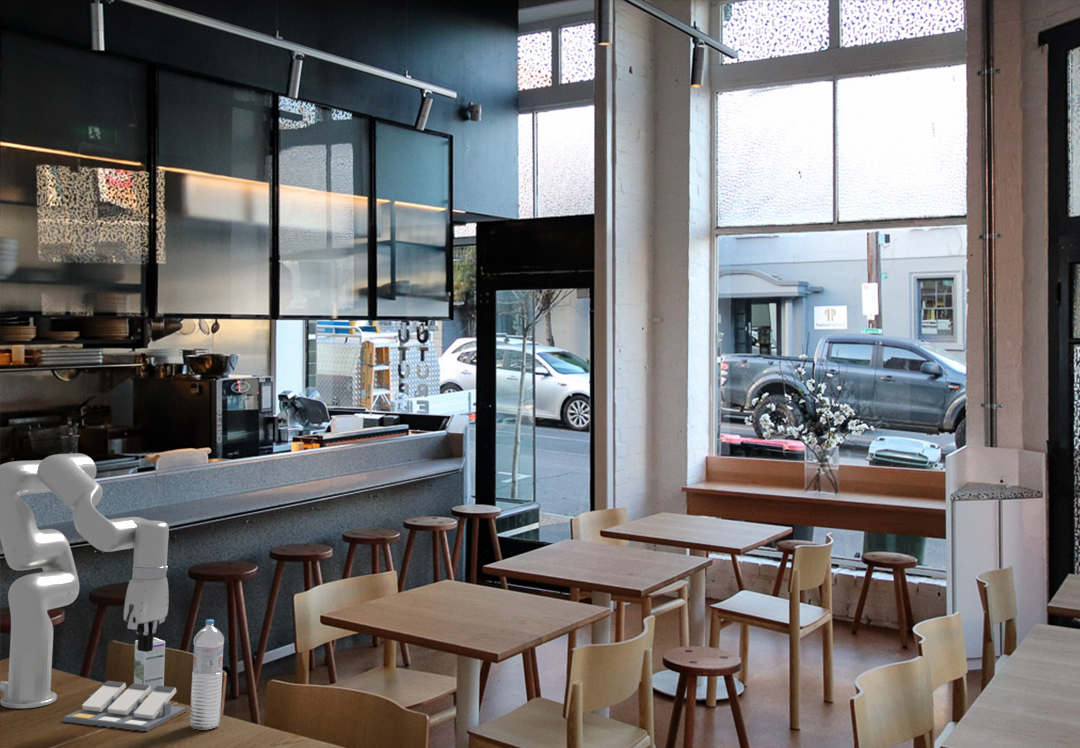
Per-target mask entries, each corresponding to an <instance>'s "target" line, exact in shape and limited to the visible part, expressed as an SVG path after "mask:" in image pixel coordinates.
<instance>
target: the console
mask: <svg viewBox="0 0 1080 748" xmlns="http://www.w3.org/2000/svg"><path fill="white" fill-rule="evenodd" d="M93 694H94V693H93ZM93 694H90V695H88V699H89V698H90V697H91V696H92V695H93ZM120 696H121V695H118V696H116V697H114V698H112V699H111V702H110V703H109V704H108V705H107V706H106V707H105V708H104V709H103V710H102V711H101V712H99V711H91V710H83V708H81V709H78V710H77V711H74V712H72V713H71V712H70V714H67V715H64V718H63V719H64V720H63V721H64V722H65V723H72V724H73V723H74V724H80V725H86V726H87V725H88V726H94V725H97V726H96V727H102V726H106V727H105V728H110V727H116V728H115V729H118V728H129V729H135V730H142V731H148V730H149V729H151V728H154V727H155V726H157V725H159V724H161V723H163V722H165V721H166V720H168V719H170V718H171V717H172V716H174V715H176V714H178V713H180V712H182V711H183V710H185V709H186V710H187V707H186V706H176V705H172V702H171V701H168V703H166V704H164V705H163V709H162V710H161V711H160V712H159V713H158V715H157V716H156V717H155V718H154V719H147V718H139V717H135V716H134V712H135V711H136V710H137V709H138V707H139V706H140V705H141V704H142V703H143V702H144V701H145V699H142V700H140V701H137V705H136V706H135V707H134V708H133V709H132V710H131V711H130V712H129V713H128V714H127V715H123V714H115V713H108V707H109V706H110V705H112V704H113V703H114V702H115V701H116V700H117V699H118V698H119V697H120ZM154 729H155V728H154ZM148 732H149V731H148Z"/></svg>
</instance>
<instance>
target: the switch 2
mask: <svg viewBox="0 0 1080 748" xmlns="http://www.w3.org/2000/svg"><path fill="white" fill-rule="evenodd" d="M176 693H177V688H176V687H174V686H166V685H164V686H159V685H157V687H156V688H155V689H154V690H153V691H152V692H151V694H150V695H149V696H148V697H147V698H146V699H145V701H144V702H143V703H142V704H141V705H140V706H139V707H138V709H137V710H136V711H135V712H134V716H135V717H139V718H147V719H154V718H155V717H156V716H157V715H158V713H159V712H160V711H161V710H162V709H163V705H164V704H166V703H168V702H170V700H171V699H172V698H173V696H174V695H175V694H176Z"/></svg>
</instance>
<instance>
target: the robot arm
mask: <svg viewBox="0 0 1080 748" xmlns="http://www.w3.org/2000/svg"><path fill="white" fill-rule="evenodd" d="M97 471H98V470H97V466H96V463H95V462H94V460H93V459H92V458H91V457H90V456H88V455H87V454H84V453H78V452H77V453H76V452H75V453H58V454H52V455H48V456H46V457H44V459H41V460H40V459H37V460H16V461H9V462H5V463H2V464H0V543H1V547H2V551H3V554H4V557H5V558H4V559H5V561H6V563H7V565H8V566H9V568H11V569H12V570H13V571H30V570H33V569H40V568H41V569H42V571H41V572H35V573H31V574H26V575H24V576H20V577H18V578H17V579H16V580H15V581H14V582H12V584H11V585H10V587H9V589H8V592H7V593H8V594H7V598H8V607H9V612H10V643H9V644H10V645H9V662H8V681H6V680H1V681H0V692H3V696H2V697H1V698H0V705H1V706H2V707H4V708H7V709H8V708H9V709H32V708H33V709H34V708H39V707H40V708H41V707H43V706H48V705H51V704H53V703H54V702H55V701H56V700H57V698H58V694H57V693H56V692H54V691H52V690H51V688H52V687H51V685H52V683H51V682H52V666H53V645H54V626H53V625H54V624H53V622H52V620H51V618H50V615H49V614H48V611H49V610H53V609H58V608H62V607H65V606H69V605H71V604H72V603H74V601H75V600H76V599H77V598H78V595H79V593H80V580H79V576H78V571H77V568H76V564H75V560H74V556H73V552H72V549H71V546H70V543H69V541H68V539H67V537H66V536H65V535H64V533H62V532H61V531H59V530H58V529H55V528H45V529H39V528H38V526H37V523H36V520H35V515H34V512H33V511H32V509H31V507H30V506H29V504H28V503H27V502H26V501H25V500H24V499H23V498H22V496H23V495H35V494H42V493H43V494H46V493H53V494H54V495H56V497H57V498H59V500H60V501H62V502H63V503H64V504H65V505H66V506H68V507H69V508H70V510H71V511H72V520H73V524H74V527H75V529H76V531H77V533H79V535H80V536H81V537H82V538H83V539H84V540H86V542H88V543H89V544H90V545H91V546H93V547H94V548H95V549H97V550H99V551H101V552H105V553H106V552H107V553H110V552H117V551H122V550H130V549H133V562H132V563H133V564H132V579H130V580H129V582H128V585H127V588H126V594H125V599H124V608H123V621H125V622H127V630H128V629H129V630H134V631H135V633H136V634H137V640H138V648H137V649H138V650H139V651H143V652H149V651H152V650H153V637H154V634H156V632H157V627H158V626H159V625H160V624H162V623H164V622H165V621H166V617H167V616H168V613H169V604H170V603H169V599H170V598H169V597H170V596H169V595H170V594H169V582H168V578H167V571H168V570H169V569H168V551H169V550H168V549H169V536H170V535H169V534H170V533H169V532H170V526H169V524H168V523H167V522H166V521H163V520H149V519H147V518H143V517H140V516H129V517H119V518H118V517H117V518H112V519H108V518H106V517H105V516H104V515H103V514H102V513H100V512H99V511H98V509H97V508H96V507H97V506H98V504H99V502H100V501H101V500H102V497H103V494H104V493H103V492H104V491H103V487H102V486H101V485H100V483H98V482H97V481H96V480H95V478H96V476H97Z"/></svg>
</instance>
